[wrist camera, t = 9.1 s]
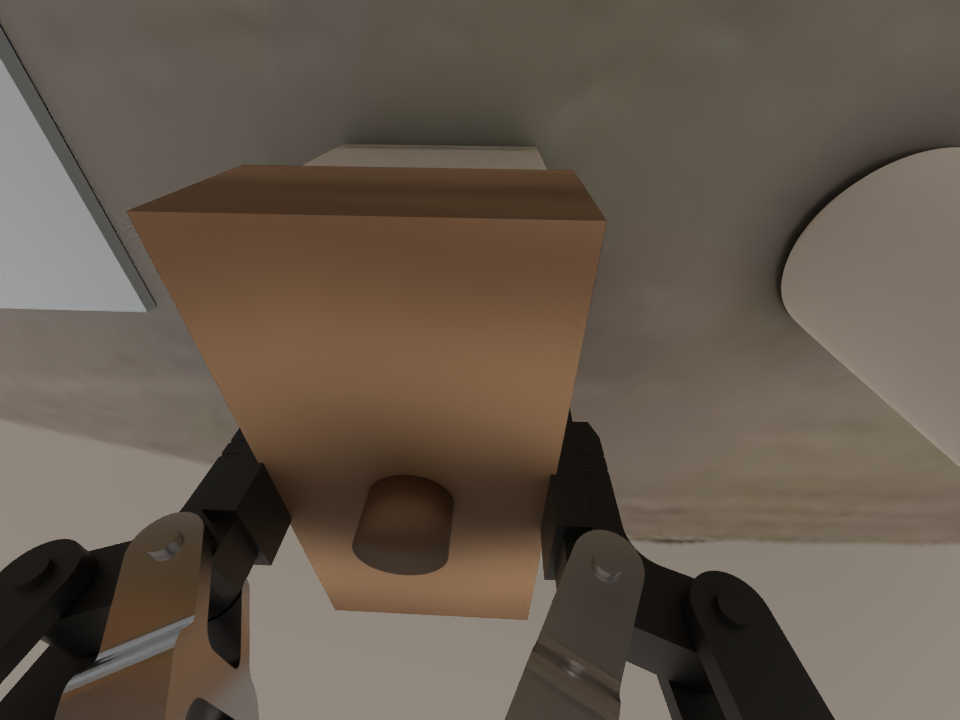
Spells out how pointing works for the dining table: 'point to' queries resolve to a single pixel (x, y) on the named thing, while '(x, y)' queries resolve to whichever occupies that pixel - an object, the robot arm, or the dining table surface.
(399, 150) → the dish
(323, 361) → the lid
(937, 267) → the can
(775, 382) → the dining table surface
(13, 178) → the mat
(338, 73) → the dining table surface
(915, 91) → the dining table surface
